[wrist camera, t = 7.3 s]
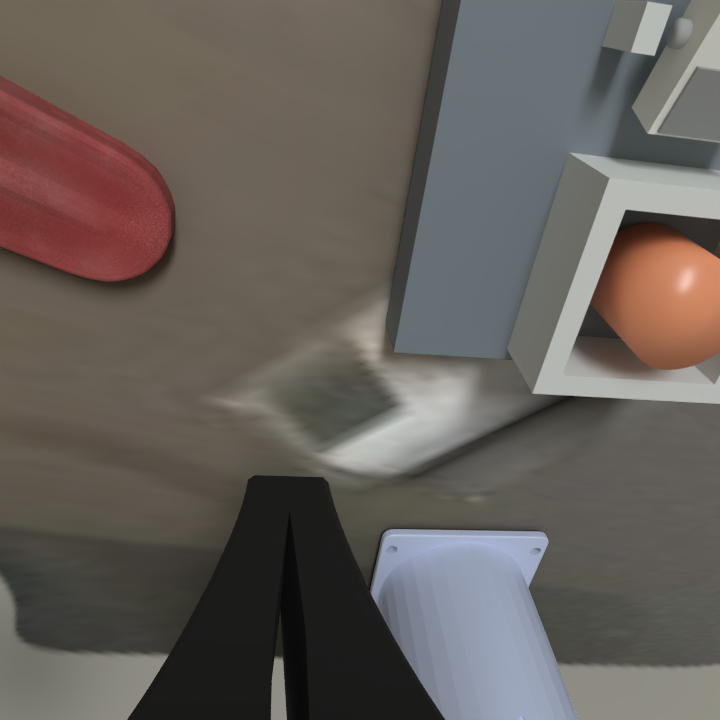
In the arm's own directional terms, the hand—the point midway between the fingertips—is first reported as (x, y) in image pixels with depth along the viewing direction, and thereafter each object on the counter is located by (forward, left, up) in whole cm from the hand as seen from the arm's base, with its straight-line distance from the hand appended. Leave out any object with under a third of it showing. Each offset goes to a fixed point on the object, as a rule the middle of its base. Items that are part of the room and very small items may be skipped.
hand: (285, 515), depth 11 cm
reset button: (+2, -11, -8) cm, 13 cm away
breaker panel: (+5, -9, -10) cm, 15 cm away
